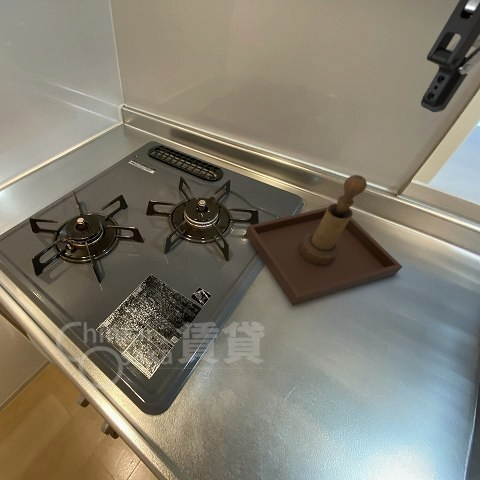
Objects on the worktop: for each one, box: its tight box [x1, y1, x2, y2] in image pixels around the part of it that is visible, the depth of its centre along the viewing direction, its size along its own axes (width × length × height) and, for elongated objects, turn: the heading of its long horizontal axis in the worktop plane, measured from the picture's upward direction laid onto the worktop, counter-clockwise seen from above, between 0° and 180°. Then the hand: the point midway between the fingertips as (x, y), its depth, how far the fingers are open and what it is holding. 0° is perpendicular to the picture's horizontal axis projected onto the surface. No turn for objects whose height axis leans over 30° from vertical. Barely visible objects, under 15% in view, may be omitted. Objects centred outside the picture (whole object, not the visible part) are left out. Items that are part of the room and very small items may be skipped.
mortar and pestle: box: [299, 174, 368, 266], centre depth 54 cm, size 7×6×18 cm
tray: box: [245, 206, 403, 306], centre depth 61 cm, size 22×18×3 cm
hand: (463, 103), depth 33 cm, fingers open, 8 cm apart
